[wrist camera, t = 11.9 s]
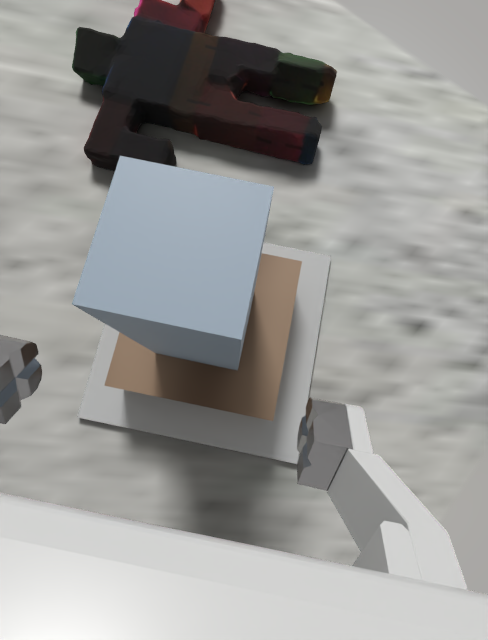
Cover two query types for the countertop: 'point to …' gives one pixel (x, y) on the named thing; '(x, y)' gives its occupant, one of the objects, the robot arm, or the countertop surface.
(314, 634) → the robot arm
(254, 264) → the post
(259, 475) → the countertop surface
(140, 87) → the toy
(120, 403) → the mat
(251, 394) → the base block
